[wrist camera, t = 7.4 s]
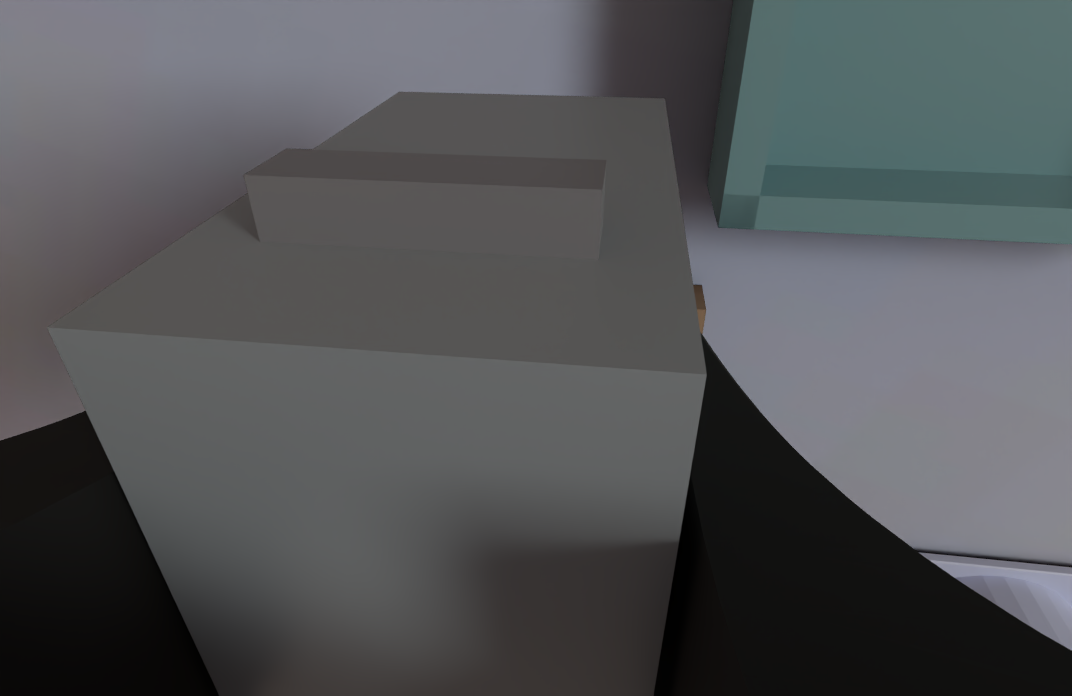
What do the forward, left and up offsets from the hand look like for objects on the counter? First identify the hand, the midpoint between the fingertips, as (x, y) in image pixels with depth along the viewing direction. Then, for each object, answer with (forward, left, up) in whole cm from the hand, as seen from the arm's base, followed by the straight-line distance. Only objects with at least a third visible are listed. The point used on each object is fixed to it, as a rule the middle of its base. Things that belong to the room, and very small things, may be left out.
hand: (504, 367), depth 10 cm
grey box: (0, 0, -3) cm, 3 cm away
